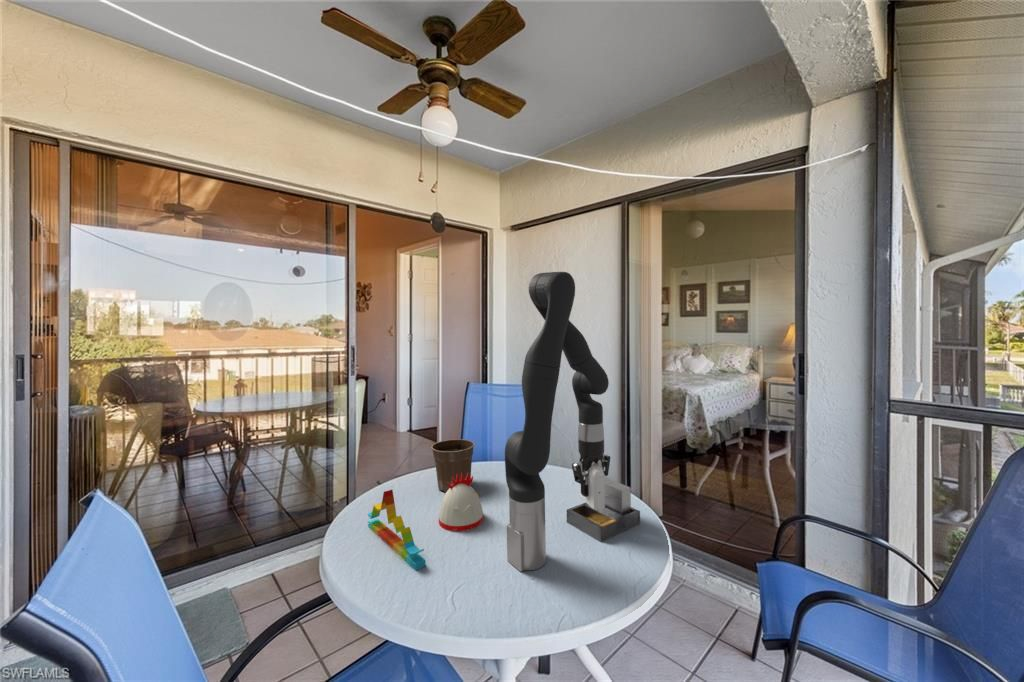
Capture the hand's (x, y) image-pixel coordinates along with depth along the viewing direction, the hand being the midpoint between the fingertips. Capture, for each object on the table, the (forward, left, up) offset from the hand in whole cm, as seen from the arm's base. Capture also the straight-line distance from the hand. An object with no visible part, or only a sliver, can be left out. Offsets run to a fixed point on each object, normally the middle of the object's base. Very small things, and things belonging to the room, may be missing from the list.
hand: (592, 493), depth 122 cm
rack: (+5, 0, -11) cm, 12 cm away
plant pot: (-19, +53, -11) cm, 58 cm away
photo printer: (0, 0, -3) cm, 3 cm away
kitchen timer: (-29, +28, -11) cm, 42 cm away
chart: (-51, +27, -11) cm, 59 cm away
